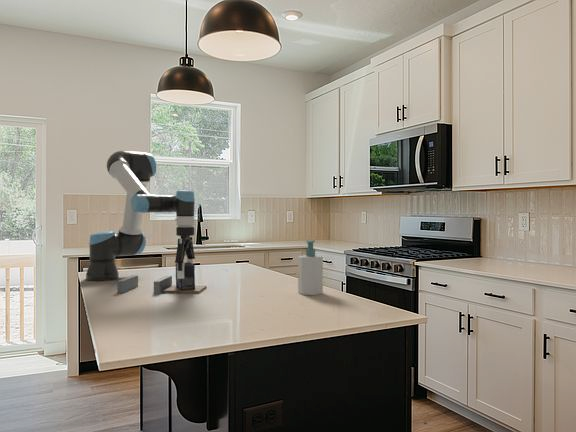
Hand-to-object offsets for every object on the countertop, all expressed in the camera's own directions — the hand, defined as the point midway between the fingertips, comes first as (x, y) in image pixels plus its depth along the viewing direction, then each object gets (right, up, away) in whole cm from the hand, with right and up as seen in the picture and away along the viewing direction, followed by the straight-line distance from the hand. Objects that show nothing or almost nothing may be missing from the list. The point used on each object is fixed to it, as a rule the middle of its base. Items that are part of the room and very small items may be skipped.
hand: (185, 276), depth 198 cm
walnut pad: (0, -6, 0) cm, 6 cm away
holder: (-17, -6, +1) cm, 19 cm away
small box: (0, -5, 0) cm, 5 cm away
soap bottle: (+53, -7, -5) cm, 54 cm away
